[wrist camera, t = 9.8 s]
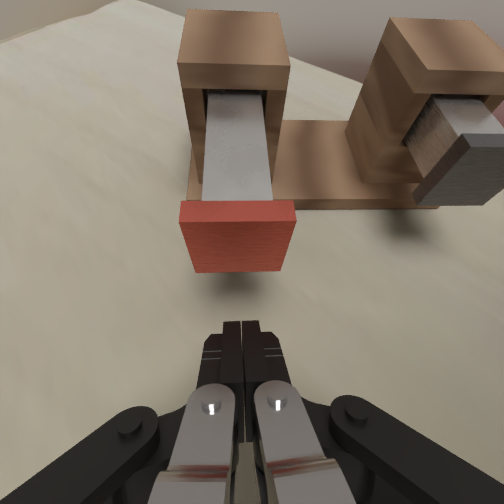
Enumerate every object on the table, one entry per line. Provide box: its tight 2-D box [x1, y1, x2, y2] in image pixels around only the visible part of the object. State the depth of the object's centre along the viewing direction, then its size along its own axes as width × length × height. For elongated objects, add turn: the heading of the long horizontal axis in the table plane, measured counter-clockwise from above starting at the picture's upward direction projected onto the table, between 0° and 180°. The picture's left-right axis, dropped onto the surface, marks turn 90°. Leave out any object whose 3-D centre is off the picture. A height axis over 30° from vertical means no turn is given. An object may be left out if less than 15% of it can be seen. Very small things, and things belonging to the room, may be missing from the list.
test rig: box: [177, 9, 504, 209], centre depth 24 cm, size 25×12×12 cm, turn 93°
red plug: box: [179, 89, 297, 273], centre depth 17 cm, size 5×15×5 cm, turn 3°
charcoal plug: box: [403, 94, 504, 206], centre depth 21 cm, size 5×15×5 cm, turn 3°
